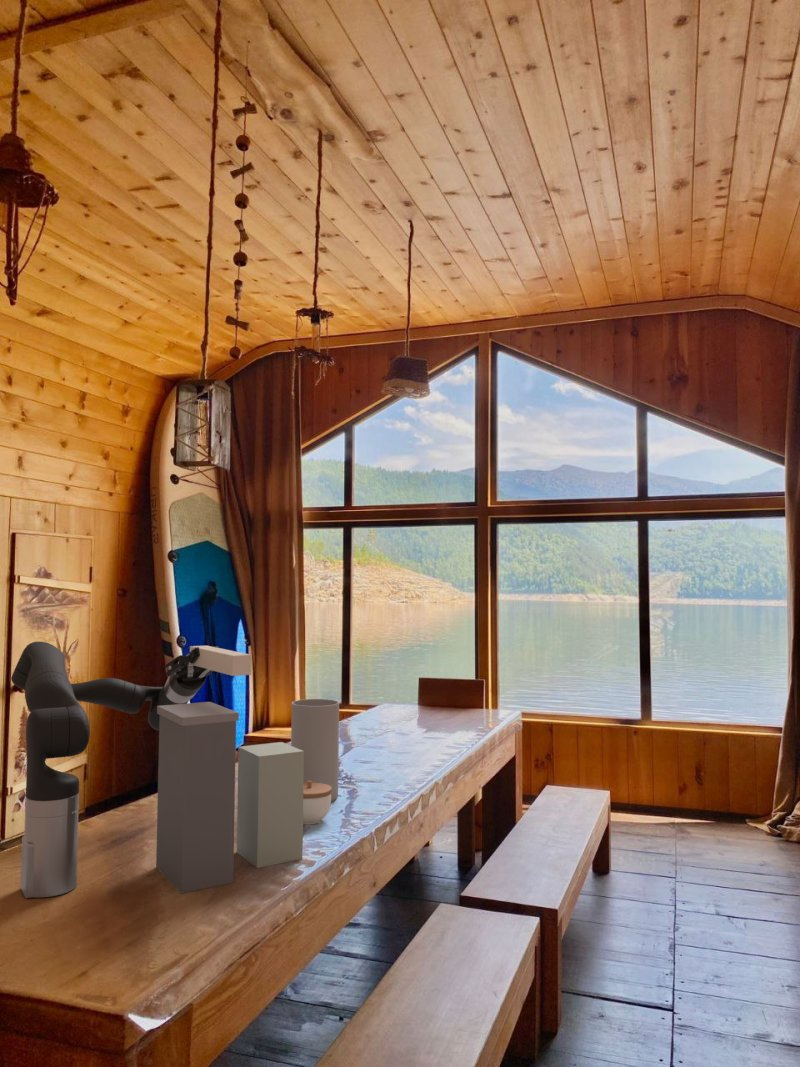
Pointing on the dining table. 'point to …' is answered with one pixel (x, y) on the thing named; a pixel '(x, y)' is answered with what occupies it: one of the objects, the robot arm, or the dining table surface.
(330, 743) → the cylinder vase
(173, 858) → the charcoal stand
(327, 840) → the dining table surface
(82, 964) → the dining table surface
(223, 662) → the cream block
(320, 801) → the lidded jar
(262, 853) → the sage-grey block
